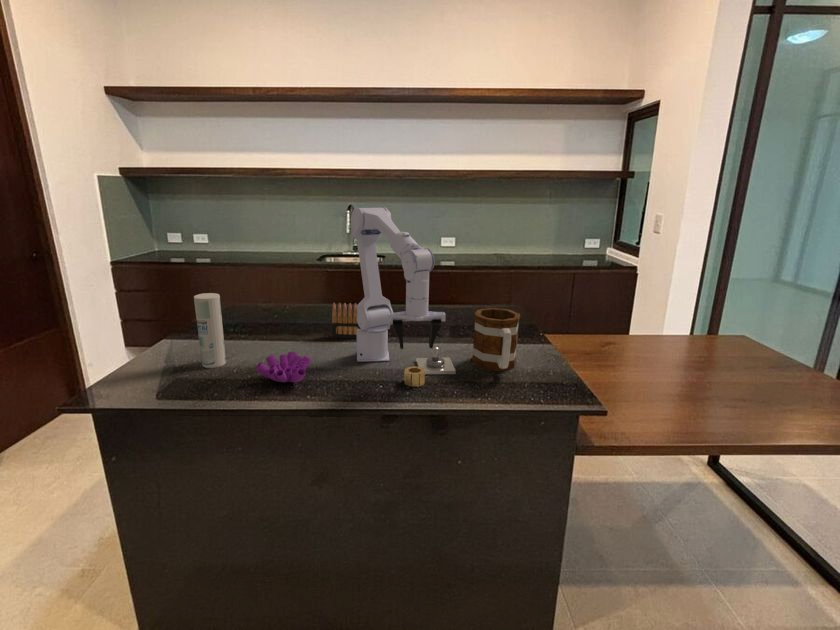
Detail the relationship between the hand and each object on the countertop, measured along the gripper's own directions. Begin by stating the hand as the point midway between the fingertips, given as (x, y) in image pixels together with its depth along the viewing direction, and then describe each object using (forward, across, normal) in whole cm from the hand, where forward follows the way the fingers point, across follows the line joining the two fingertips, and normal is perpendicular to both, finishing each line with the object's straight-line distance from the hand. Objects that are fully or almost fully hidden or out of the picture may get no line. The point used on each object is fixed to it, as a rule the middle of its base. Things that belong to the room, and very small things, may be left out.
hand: (416, 347), depth 122 cm
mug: (+10, +25, +10) cm, 29 cm away
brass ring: (+10, 0, 0) cm, 10 cm away
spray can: (+10, -56, +17) cm, 59 cm away
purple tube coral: (+10, -34, +4) cm, 36 cm away
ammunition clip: (+10, -19, +38) cm, 44 cm away
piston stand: (+10, +7, +10) cm, 16 cm away
